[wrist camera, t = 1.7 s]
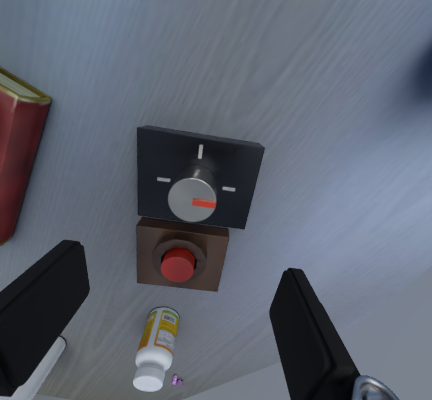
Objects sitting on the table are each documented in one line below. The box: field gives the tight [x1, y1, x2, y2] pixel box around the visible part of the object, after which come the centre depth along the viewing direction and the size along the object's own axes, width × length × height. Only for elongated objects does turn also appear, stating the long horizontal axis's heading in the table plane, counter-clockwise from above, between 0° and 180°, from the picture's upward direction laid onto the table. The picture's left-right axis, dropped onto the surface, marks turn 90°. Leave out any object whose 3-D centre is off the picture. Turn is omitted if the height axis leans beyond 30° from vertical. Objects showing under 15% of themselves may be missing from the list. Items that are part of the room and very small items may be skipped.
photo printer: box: [0, 337, 66, 400], centre depth 34 cm, size 10×4×12 cm, turn 118°
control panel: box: [137, 125, 265, 229], centre depth 23 cm, size 13×10×3 cm
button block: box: [136, 217, 229, 292], centre depth 28 cm, size 12×10×4 cm
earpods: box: [172, 375, 183, 385], centre depth 44 cm, size 3×2×2 cm
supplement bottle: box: [133, 307, 179, 392], centre depth 31 cm, size 5×5×10 cm
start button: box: [161, 248, 195, 282], centre depth 25 cm, size 4×4×2 cm
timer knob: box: [168, 165, 217, 222], centre depth 20 cm, size 4×4×5 cm
